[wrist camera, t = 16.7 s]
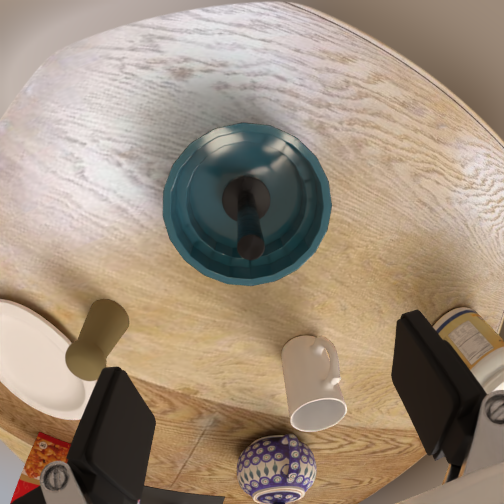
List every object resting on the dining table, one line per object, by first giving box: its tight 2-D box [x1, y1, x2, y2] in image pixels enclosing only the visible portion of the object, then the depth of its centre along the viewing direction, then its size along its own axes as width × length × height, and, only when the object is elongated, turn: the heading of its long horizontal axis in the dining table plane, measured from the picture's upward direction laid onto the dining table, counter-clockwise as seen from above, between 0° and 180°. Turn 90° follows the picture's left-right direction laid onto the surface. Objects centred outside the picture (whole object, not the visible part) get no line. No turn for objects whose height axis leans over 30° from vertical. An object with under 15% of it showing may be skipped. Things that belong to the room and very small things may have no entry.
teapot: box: [237, 434, 316, 504], centre depth 46 cm, size 25×15×15 cm, turn 168°
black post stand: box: [222, 175, 270, 260], centre depth 27 cm, size 5×5×14 cm
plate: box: [0, 299, 97, 420], centre depth 42 cm, size 28×28×2 cm
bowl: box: [163, 123, 332, 286], centre depth 31 cm, size 16×16×6 cm
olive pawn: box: [65, 299, 129, 381], centre depth 34 cm, size 6×6×11 cm
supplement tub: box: [433, 307, 504, 395], centre depth 36 cm, size 12×12×17 cm
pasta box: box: [10, 432, 140, 504], centre depth 43 cm, size 28×8×28 cm, turn 78°
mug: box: [281, 335, 347, 432], centre depth 37 cm, size 10×7×12 cm, turn 163°
